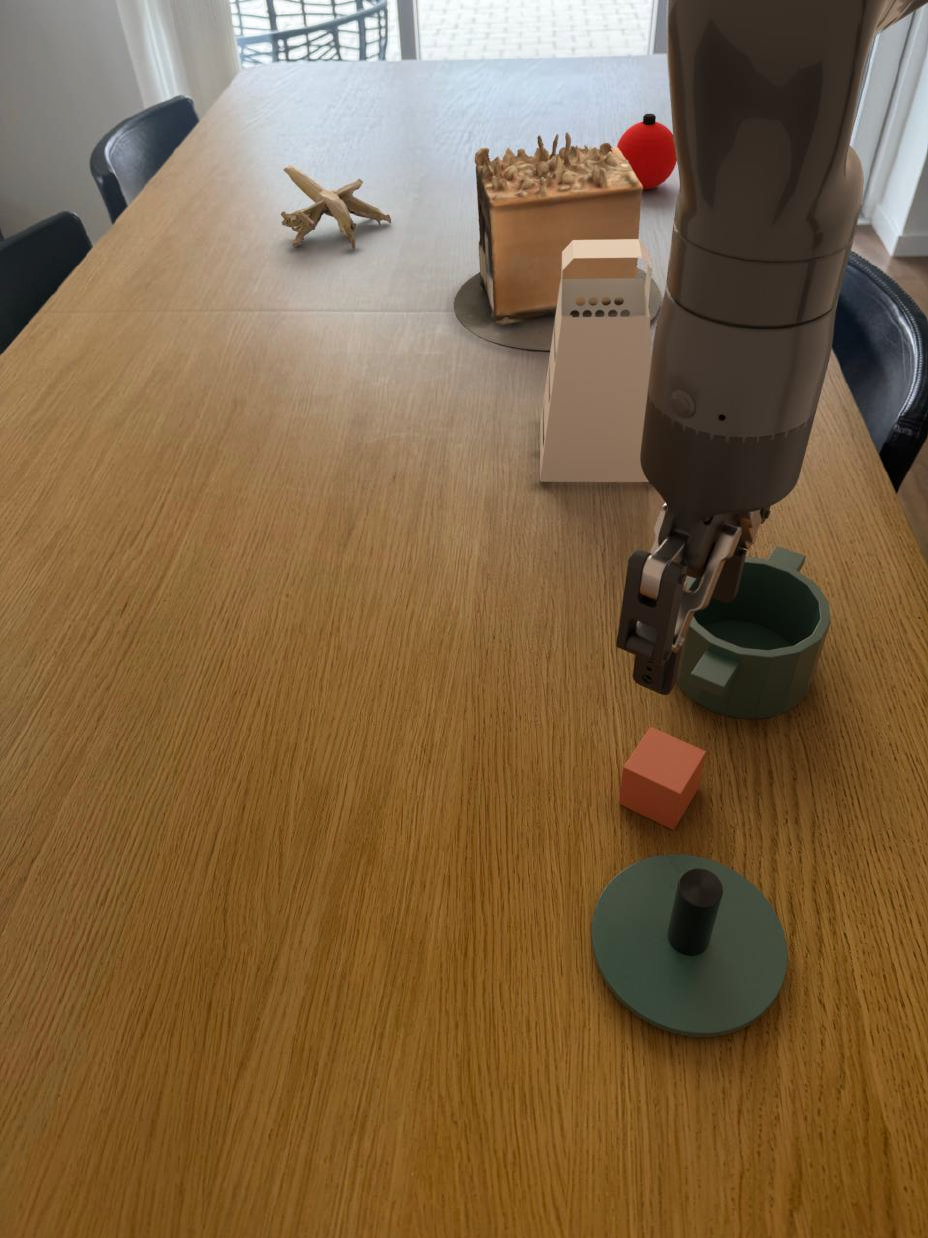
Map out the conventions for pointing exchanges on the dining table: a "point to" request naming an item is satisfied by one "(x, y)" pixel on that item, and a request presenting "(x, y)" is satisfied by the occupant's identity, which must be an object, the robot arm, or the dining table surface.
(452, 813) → the dining table surface
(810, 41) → the robot arm
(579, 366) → the grater
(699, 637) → the pot
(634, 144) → the ornament
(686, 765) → the block
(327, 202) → the branching beige root
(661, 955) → the lid
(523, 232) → the planter
